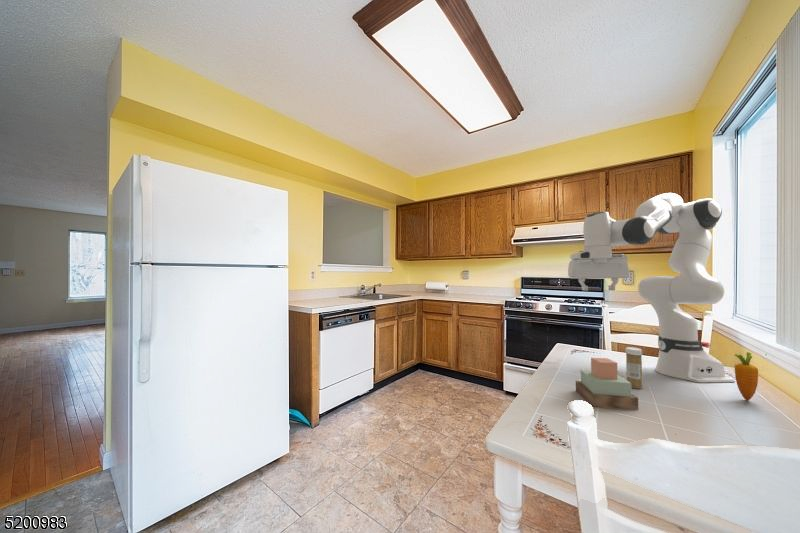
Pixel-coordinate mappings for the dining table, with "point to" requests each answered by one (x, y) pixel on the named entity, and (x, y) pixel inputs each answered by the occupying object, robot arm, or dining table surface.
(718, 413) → the dining table surface
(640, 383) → the sprinkles bottle
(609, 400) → the tower base
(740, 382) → the carrot
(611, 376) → the terracotta block
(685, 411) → the dining table surface
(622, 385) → the tower top
